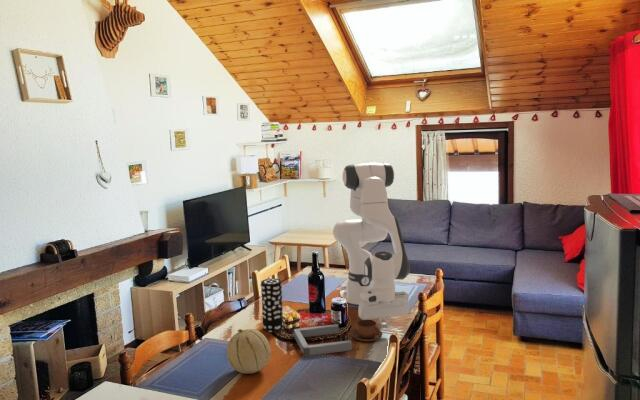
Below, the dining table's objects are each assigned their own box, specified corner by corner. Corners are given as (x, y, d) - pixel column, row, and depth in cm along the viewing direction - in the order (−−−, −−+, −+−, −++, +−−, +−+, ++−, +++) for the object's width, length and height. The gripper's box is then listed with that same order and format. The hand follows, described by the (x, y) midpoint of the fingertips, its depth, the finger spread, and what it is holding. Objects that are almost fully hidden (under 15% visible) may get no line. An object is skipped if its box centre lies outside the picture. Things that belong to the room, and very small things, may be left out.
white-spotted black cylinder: (280, 332, 213) (278, 284, 210) (260, 331, 214) (258, 284, 212) (285, 325, 221) (283, 278, 218) (266, 324, 222) (264, 278, 220)
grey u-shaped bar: (293, 336, 209) (293, 329, 208) (337, 331, 213) (337, 324, 212) (304, 356, 190) (304, 348, 190) (351, 350, 195) (351, 342, 194)
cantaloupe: (273, 378, 174) (272, 335, 172) (228, 384, 171) (226, 340, 169) (268, 359, 188) (266, 319, 186) (226, 364, 185) (224, 323, 183)
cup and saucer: (385, 333, 210) (385, 318, 209) (378, 345, 198) (378, 330, 198) (356, 330, 214) (355, 316, 213) (347, 342, 202) (347, 326, 201)
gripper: (405, 288, 211) (405, 321, 213) (356, 293, 206) (357, 327, 208) (411, 293, 205) (411, 327, 207) (362, 298, 200) (362, 333, 202)
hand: (383, 327), depth 207 cm, fingers closed
